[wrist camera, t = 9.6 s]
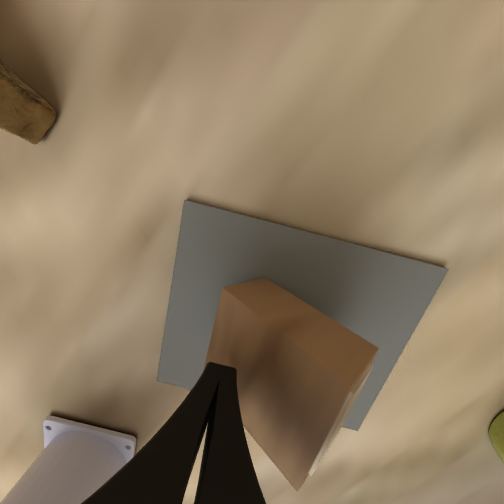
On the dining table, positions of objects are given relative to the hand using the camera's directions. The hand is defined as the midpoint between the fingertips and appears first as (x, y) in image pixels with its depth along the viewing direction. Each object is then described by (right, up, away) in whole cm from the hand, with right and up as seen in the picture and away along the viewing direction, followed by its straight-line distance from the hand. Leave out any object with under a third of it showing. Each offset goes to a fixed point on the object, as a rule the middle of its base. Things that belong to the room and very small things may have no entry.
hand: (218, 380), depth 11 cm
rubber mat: (+4, +1, +5) cm, 6 cm away
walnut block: (0, +2, +3) cm, 4 cm away
